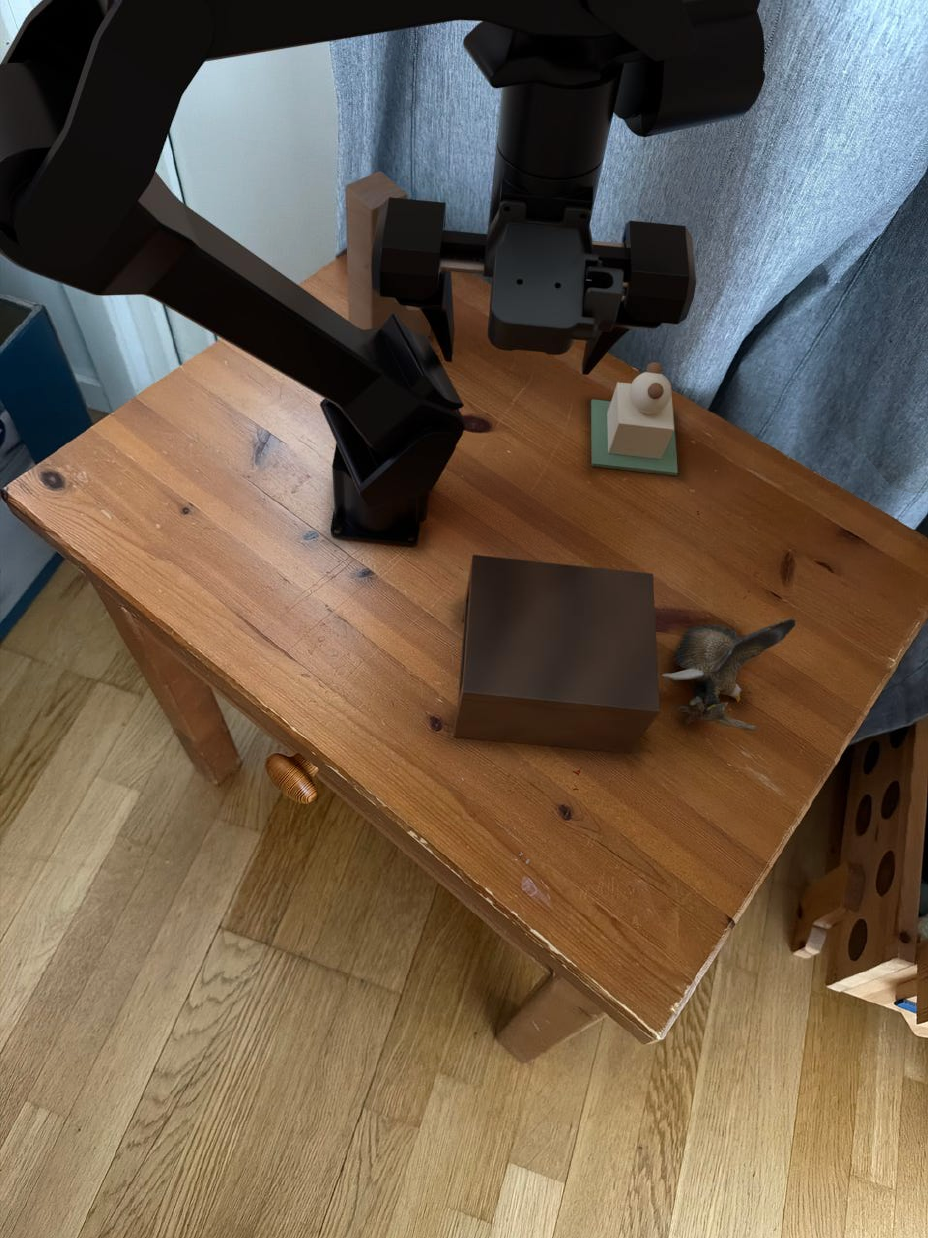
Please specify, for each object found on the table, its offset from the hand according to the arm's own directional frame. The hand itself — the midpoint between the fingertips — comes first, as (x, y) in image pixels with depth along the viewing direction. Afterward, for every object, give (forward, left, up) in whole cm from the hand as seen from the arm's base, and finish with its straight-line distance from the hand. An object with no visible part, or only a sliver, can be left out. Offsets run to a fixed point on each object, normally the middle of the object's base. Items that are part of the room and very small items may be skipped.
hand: (517, 363), depth 60 cm
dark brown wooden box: (+4, -17, -12) cm, 22 cm away
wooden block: (-10, +14, -12) cm, 21 cm away
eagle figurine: (+16, -16, -12) cm, 26 cm away
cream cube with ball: (+11, +6, -12) cm, 17 cm away
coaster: (+11, +6, -12) cm, 17 cm away
